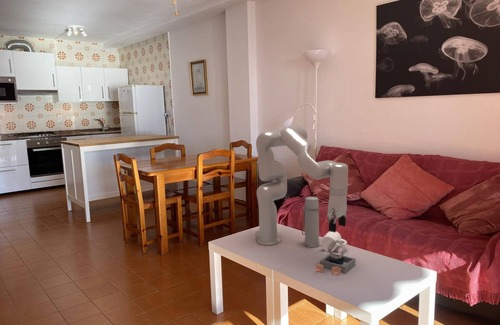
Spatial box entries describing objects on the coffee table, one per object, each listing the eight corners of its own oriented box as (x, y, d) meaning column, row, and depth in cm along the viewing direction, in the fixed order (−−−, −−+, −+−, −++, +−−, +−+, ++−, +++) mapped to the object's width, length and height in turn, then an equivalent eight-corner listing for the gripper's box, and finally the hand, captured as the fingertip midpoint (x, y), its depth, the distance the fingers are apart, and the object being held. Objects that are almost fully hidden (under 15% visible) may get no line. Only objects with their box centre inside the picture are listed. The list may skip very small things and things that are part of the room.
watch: (331, 260, 177) (331, 237, 175) (347, 264, 171) (347, 241, 170) (325, 264, 173) (325, 240, 171) (341, 268, 167) (341, 244, 166)
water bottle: (321, 243, 199) (321, 197, 195) (315, 248, 193) (315, 200, 189) (305, 241, 204) (305, 195, 200) (298, 245, 198) (298, 198, 194)
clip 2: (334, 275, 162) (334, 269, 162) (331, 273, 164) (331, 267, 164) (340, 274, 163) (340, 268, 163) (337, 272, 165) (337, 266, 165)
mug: (320, 250, 190) (320, 235, 189) (326, 244, 199) (326, 229, 198) (344, 254, 185) (344, 238, 184) (349, 247, 194) (349, 232, 192)
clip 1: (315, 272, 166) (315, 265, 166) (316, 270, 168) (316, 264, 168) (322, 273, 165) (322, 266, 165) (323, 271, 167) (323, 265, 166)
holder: (320, 266, 171) (320, 260, 171) (331, 258, 180) (331, 252, 179) (345, 273, 164) (345, 267, 163) (355, 264, 172) (355, 258, 172)
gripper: (339, 186, 176) (337, 221, 179) (321, 194, 162) (320, 232, 165) (354, 188, 171) (353, 225, 174) (337, 196, 158) (336, 236, 161)
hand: (337, 228), depth 170 cm, fingers open, 9 cm apart
